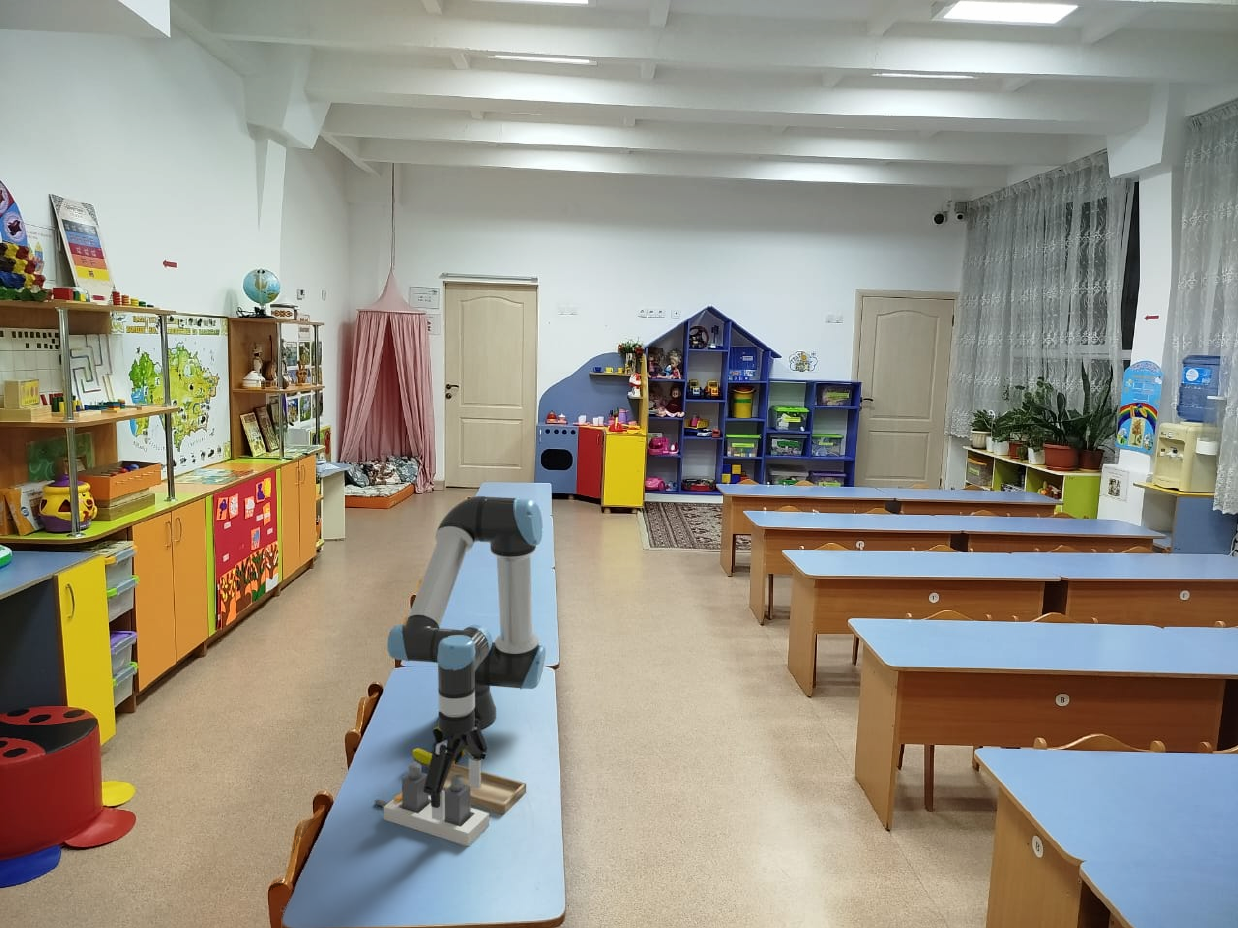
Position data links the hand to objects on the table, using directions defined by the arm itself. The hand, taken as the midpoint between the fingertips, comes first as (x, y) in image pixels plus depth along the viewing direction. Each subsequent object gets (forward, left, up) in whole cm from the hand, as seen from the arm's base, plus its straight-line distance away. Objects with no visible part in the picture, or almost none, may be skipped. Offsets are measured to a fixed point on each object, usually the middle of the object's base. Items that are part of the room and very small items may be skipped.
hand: (457, 802), depth 179 cm
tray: (-14, -4, -6) cm, 16 cm away
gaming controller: (-22, -20, -7) cm, 31 cm away
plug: (0, 0, -6) cm, 6 cm away
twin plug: (0, -11, -6) cm, 12 cm away
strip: (0, -8, -6) cm, 10 cm away
